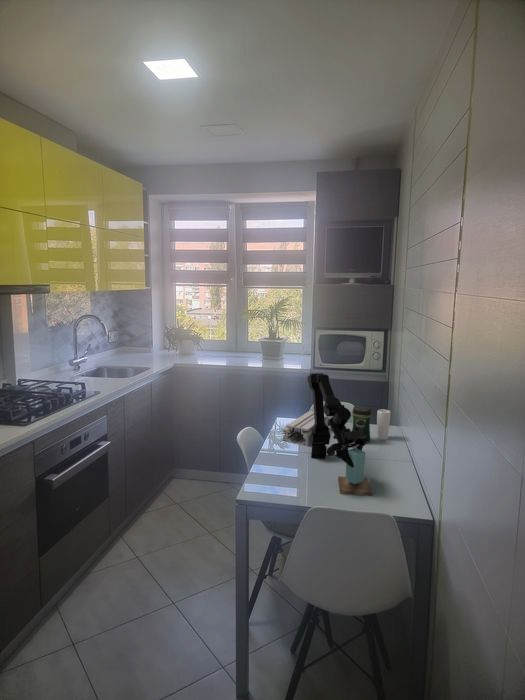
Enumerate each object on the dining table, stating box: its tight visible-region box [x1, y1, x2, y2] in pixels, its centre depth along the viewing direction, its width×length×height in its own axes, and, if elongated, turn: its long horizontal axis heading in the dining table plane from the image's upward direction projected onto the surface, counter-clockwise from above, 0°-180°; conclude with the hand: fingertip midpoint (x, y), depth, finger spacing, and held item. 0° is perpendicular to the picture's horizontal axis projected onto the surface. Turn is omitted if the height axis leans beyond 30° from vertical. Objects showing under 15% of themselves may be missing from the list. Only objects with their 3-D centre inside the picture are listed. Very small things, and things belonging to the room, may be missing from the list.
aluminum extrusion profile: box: [281, 410, 330, 447], centre depth 229 cm, size 14×31×10 cm, turn 151°
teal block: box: [345, 448, 366, 484], centre depth 169 cm, size 5×5×12 cm
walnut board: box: [337, 475, 373, 497], centre depth 170 cm, size 12×12×2 cm
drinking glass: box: [376, 408, 391, 441], centre depth 226 cm, size 7×7×15 cm
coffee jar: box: [351, 405, 372, 444], centre depth 221 cm, size 10×8×19 cm
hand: (357, 465), depth 168 cm, fingers closed on teal block, 5 cm apart
